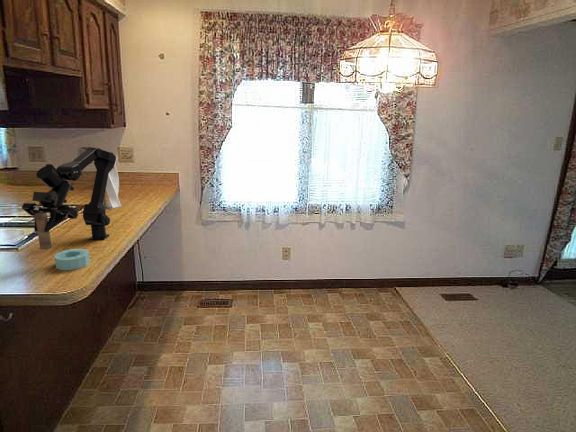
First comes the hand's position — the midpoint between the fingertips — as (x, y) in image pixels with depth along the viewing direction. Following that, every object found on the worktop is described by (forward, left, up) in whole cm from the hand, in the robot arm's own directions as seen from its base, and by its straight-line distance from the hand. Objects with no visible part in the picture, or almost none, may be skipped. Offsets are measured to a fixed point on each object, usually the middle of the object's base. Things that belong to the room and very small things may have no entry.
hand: (40, 231), depth 139 cm
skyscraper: (-85, -11, -14) cm, 87 cm away
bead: (-2, +9, -13) cm, 16 cm away
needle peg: (-1, 0, -7) cm, 7 cm away
